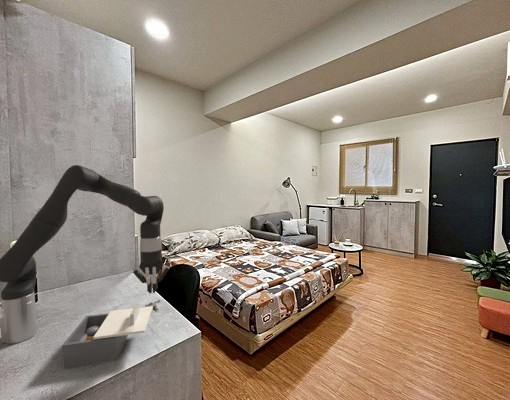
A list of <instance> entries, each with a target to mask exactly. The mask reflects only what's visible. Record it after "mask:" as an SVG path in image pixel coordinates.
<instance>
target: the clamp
mask: <svg viewBox="0 0 510 400" xmlns="http://www.w3.org/2000/svg"><path fill="white" fill-rule="evenodd" d="M159 302H161V300H160V299H158V300H156V301H153V302H152V301H150V302H149V303H147V304H145V305H144V307H151V306H153V309H152V310H157V311H159V308H158V307H157V304H156V303H159Z"/></svg>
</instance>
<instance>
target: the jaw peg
mask: <svg viewBox="0 0 510 400" xmlns="http://www.w3.org/2000/svg"><path fill="white" fill-rule="evenodd" d="M97 331H98V326H93V327H90V328H88V329H87V340H93V337H94V336H95V334H96V333H97Z"/></svg>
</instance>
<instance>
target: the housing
mask: <svg viewBox="0 0 510 400" xmlns="http://www.w3.org/2000/svg"><path fill="white" fill-rule="evenodd" d="M109 313H110V312H109ZM109 313H107V312H106V313H99V314H91V315H85V317H84V318H83V319H82V320H81V322H80V323H79V324H78V325H77V326H76V328H75V329H74V330H73V331H72V332H71V334H70V335H69V336H68V337H67V339H66V340H65V341H64V342H63V343H62V345H61V353H62V368H63V369H70V368H77V367H84V366H89V365H95V364H101V363H107V362H114V361H118V358H119V357H120V354H121V352H122V350H123V347H124V345H125V343H126V341H127V339H128V336H129V335H123V336H116V337H108V338H101V339H94V340H87V329H88V328H90V327H93V326H98V330H99V328H100V327H101V325H102V323H103V322H104V320H105V319H106V317H107V316H108V314H109Z"/></svg>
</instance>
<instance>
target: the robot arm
mask: <svg viewBox="0 0 510 400" xmlns="http://www.w3.org/2000/svg"><path fill="white" fill-rule="evenodd" d="M77 190H78V191H82V192H90V193H95V194H99V195H102V196H105V197H107V198H108V199H110V200H111V201H113V202H115V203H117V204H119V205H122V206H125V207H128V209H130V211H131V210H132V212H134V213H135V214H137V215H140V216H146V218H145V220H144V221H142V222H141V223H140V225H139V226H140V227H139V232H140V233H139V234H140V235H139V237H140V239H139V241H140V242H139V251H140V253H139V255H140V256H139V257H140V262H139V266H138V267H136V268H135V269H134V270H133V272H132V273H133V275H135V277H136V278H137V279H138V280H139V281H140V283H141V284H146V291H147V292H148V293H149V294H152V293H153V294H155V293H156V292H157V290H158V283H159V282H162V280H163V279H164V277H165V276H166V274H167V273H168V271H169V270H170V266H169V265H165V264H164V262H163V256H162V254H163V251H162V238H161V235H162V234H161V224H162V220H163V216H164V208H165V207H164V202H163V199H162V198H161V197H160V196H157V195H149V196H148V195H147V196H144V195H142V194H141V193H140V192H139V191H138V190H136V189H135V188H134V189H133V188H132V187H129V186H126V185H125V184H120V183H118V182H114V181H111V180H109V179H107V178H105V177H104V176H102V175H101V174H99V173H97V171H95V170H93V169H90V168H88V167H85V166H82V165H78V164H73V165H71V166H70V167H68V168H67V169H66V170H65V172H64V173H63V175H62V176H61V178H60V179H59V181H58V183H57V185H56V186H55V187H54V189H53V191H52V193H51V194H50V196H49V197H48V199H47V200H46V201H45V203H44V204H43V206H42V207H40V209H39V210H38V211H37V213H36V214H35V215H34V217H33V218H32V219H31V220H30V222H28V225H27V226H26V227H25V229H24V230H23V232H22V233H21V234H20V235H19V237H17V239H16V241H15V242H14V244H13V245H12V246H11V247H10V248H9V249H8V251H6V252H5V254H3V256H2V257H1V258H0V283H6V285H5V286H4V288H3V289H2V290H1V293H0V299H1V309H2V317H0V339H1V341H0V342H1V343H3V344H4V343H5V344H8V345H12V344H18V343H21V342H24V341H26V340H28V339H30V338H32V337H34V336H35V335H36V334H37V333H38V325H37V324H38V323H37V313H36V312H37V309H36V308H37V307H36V297H35V295H36V294H35V286H36V284H37V263H36V260H35V258H34V255H36V252H38V251H39V250H40V249H41V248H42V247H44V246H45V245H46V244H47V243H48V242H50V241H51V239H52V238H53V239H54V237H55V236H56V235H57V234H58V232H59V231H60V230H61V228H63V226H64V224H65V223H66V221H67V220H68V218H67V217H68V206H69V205H68V204H69V201H70V199H71V197H72V196H73V194H75V192H77ZM160 271H162V272H161V274H160V275H159V276H158V273H159V272H160ZM142 272H143V273H142ZM144 274H145V276H144Z"/></svg>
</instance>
